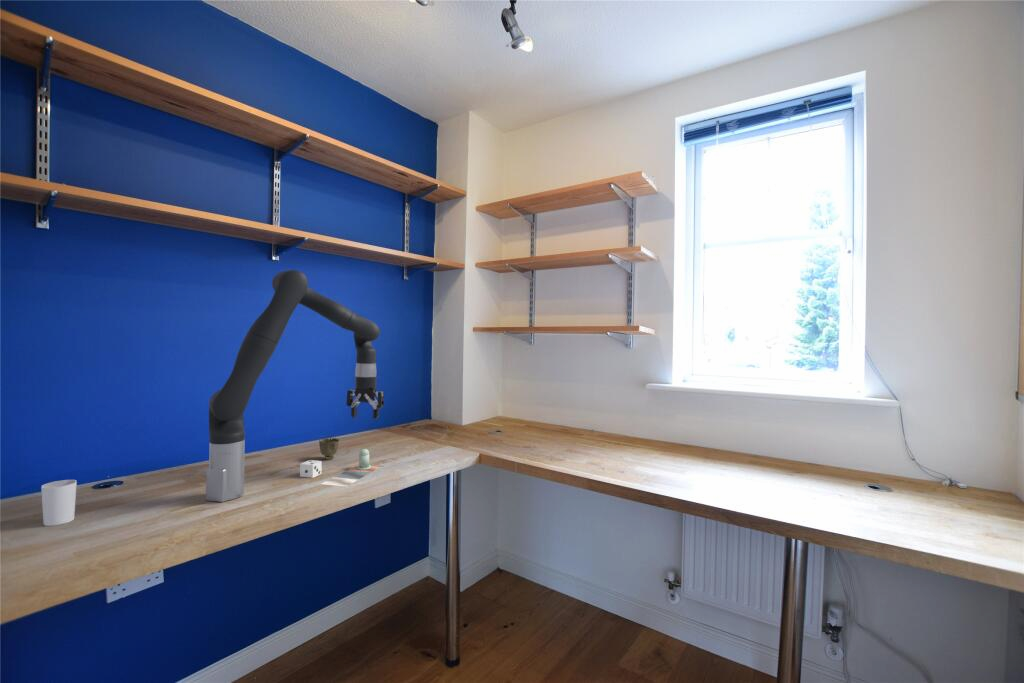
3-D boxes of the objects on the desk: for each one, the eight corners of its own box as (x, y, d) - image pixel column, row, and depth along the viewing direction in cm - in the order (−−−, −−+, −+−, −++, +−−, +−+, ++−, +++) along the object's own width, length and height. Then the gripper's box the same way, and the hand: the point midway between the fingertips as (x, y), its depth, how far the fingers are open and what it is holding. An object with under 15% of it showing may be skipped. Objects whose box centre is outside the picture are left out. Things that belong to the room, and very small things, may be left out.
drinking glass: (83, 515, 122) (83, 479, 122) (62, 525, 116) (63, 487, 116) (55, 516, 121) (55, 480, 121) (33, 527, 115) (33, 488, 114)
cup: (331, 462, 177) (331, 442, 177) (314, 460, 179) (315, 440, 179) (342, 457, 184) (342, 438, 184) (326, 456, 186) (326, 436, 186)
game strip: (346, 488, 147) (346, 487, 147) (316, 485, 149) (316, 484, 149) (383, 467, 172) (383, 466, 172) (357, 464, 174) (357, 463, 174)
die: (312, 479, 157) (312, 464, 156) (299, 478, 158) (300, 463, 157) (321, 474, 161) (321, 460, 161) (309, 473, 162) (309, 459, 162)
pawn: (366, 470, 165) (367, 451, 165) (354, 469, 166) (354, 450, 166) (373, 466, 170) (374, 447, 170) (361, 465, 172) (361, 446, 171)
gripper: (343, 375, 166) (342, 418, 166) (378, 376, 163) (377, 421, 163) (354, 373, 173) (353, 415, 173) (388, 375, 170) (387, 417, 171)
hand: (365, 418), depth 168 cm, fingers open, 8 cm apart
